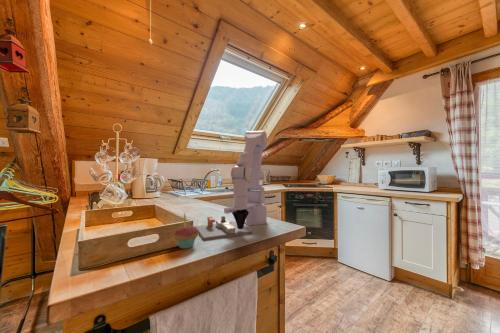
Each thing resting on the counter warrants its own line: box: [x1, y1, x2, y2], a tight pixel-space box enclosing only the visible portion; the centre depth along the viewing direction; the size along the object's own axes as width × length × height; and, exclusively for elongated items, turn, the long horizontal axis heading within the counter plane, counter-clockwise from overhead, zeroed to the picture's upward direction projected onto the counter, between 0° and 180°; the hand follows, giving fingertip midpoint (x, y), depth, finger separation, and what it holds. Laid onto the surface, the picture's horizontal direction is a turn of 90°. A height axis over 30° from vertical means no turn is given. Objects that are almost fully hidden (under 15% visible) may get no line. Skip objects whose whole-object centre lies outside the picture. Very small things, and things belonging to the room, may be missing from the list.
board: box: [194, 221, 254, 241], centre depth 97 cm, size 20×16×1 cm
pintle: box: [220, 215, 226, 222], centre depth 100 cm, size 2×2×4 cm
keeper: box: [206, 215, 216, 227], centre depth 99 cm, size 2×5×5 cm, turn 24°
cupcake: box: [174, 212, 199, 249], centre depth 80 cm, size 9×8×12 cm
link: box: [215, 218, 235, 234], centre depth 96 cm, size 14×5×2 cm, turn 24°
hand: (240, 228), depth 93 cm, fingers closed
